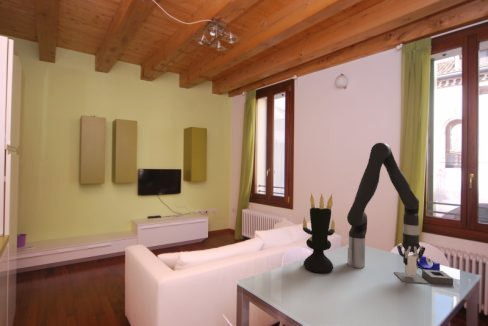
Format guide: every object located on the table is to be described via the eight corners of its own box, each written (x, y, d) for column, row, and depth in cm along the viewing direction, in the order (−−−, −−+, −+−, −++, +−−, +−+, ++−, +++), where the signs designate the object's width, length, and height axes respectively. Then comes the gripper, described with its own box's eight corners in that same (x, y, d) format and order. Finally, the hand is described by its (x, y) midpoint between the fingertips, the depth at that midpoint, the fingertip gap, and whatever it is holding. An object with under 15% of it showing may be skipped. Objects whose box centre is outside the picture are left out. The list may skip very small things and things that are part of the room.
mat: (402, 282, 139) (402, 280, 139) (393, 272, 151) (393, 271, 151) (428, 284, 137) (428, 283, 137) (417, 274, 149) (417, 273, 149)
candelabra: (333, 263, 163) (334, 189, 163) (340, 279, 141) (341, 193, 141) (301, 261, 166) (303, 188, 167) (303, 275, 145) (304, 192, 145)
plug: (407, 274, 142) (408, 255, 142) (404, 271, 146) (404, 253, 146) (416, 275, 142) (416, 256, 142) (412, 272, 146) (413, 254, 146)
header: (431, 283, 138) (431, 276, 138) (421, 275, 148) (422, 269, 148) (453, 285, 136) (453, 278, 136) (442, 277, 146) (442, 270, 146)
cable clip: (417, 266, 162) (417, 256, 163) (424, 266, 163) (424, 256, 163) (432, 274, 151) (432, 263, 151) (439, 274, 151) (440, 263, 151)
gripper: (399, 233, 142) (398, 266, 142) (429, 235, 139) (428, 268, 139) (393, 230, 149) (393, 261, 149) (422, 231, 147) (421, 263, 147)
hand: (410, 264), depth 144 cm, fingers closed on plug, 4 cm apart
